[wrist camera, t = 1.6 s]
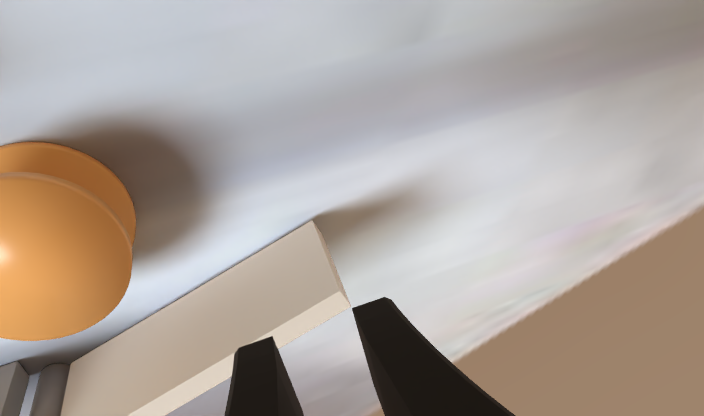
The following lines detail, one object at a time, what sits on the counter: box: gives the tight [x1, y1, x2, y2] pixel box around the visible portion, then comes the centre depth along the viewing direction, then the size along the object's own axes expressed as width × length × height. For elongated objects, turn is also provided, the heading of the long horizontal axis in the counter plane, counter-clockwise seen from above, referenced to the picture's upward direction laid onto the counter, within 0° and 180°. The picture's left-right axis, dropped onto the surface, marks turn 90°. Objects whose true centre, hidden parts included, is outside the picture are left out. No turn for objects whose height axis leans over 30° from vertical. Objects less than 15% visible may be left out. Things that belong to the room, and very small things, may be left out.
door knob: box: [0, 142, 136, 341], centre depth 16 cm, size 5×5×2 cm
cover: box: [29, 220, 351, 416], centre depth 18 cm, size 1×11×4 cm, turn 117°
